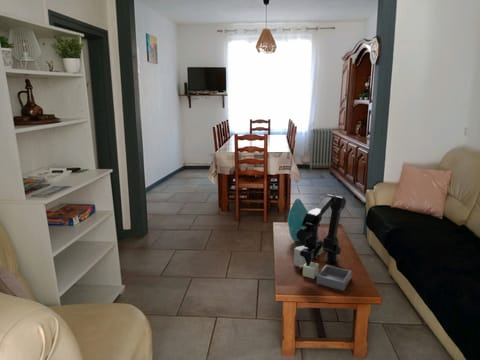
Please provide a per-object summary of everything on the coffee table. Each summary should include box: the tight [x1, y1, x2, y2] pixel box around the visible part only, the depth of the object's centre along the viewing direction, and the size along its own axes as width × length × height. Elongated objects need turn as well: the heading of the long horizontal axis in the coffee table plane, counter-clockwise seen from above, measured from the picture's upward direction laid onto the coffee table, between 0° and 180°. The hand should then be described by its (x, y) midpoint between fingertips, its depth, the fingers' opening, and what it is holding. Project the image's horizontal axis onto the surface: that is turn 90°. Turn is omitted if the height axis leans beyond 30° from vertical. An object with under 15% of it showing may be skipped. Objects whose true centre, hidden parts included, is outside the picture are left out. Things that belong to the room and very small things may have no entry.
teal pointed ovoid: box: [287, 197, 310, 243], centre depth 233 cm, size 12×14×30 cm
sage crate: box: [302, 261, 319, 280], centre depth 194 cm, size 6×6×6 cm
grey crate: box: [316, 264, 352, 292], centre depth 188 cm, size 14×14×4 cm
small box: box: [293, 246, 308, 267], centre depth 206 cm, size 8×6×10 cm
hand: (311, 262), depth 193 cm, fingers open, 9 cm apart
